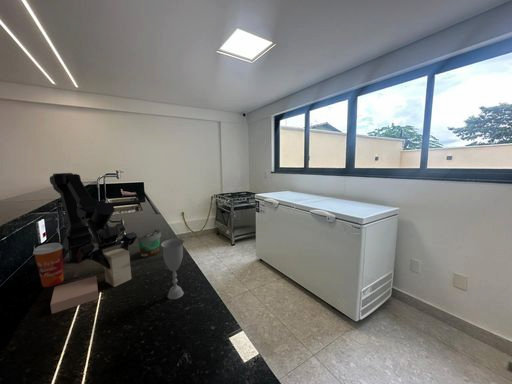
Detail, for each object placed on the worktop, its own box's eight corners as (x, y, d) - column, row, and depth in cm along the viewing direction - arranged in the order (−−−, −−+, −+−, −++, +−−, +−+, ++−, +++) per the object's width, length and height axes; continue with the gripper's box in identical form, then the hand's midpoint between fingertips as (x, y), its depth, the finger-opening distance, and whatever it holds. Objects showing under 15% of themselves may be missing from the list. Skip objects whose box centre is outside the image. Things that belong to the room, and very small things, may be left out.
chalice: (168, 288, 74) (165, 239, 72) (188, 287, 75) (186, 238, 72) (161, 302, 67) (157, 247, 64) (183, 301, 68) (180, 247, 65)
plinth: (51, 313, 62) (50, 304, 61) (55, 295, 70) (54, 286, 70) (98, 298, 69) (97, 290, 68) (97, 283, 77) (96, 275, 77)
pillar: (105, 281, 78) (102, 253, 76) (122, 274, 83) (120, 247, 82) (114, 286, 75) (111, 257, 73) (131, 278, 80) (129, 251, 79)
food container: (151, 260, 95) (149, 238, 94) (139, 258, 96) (137, 237, 95) (167, 249, 107) (166, 230, 106) (156, 248, 108) (155, 229, 107)
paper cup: (34, 291, 72) (27, 252, 70) (43, 280, 79) (37, 244, 77) (63, 285, 76) (58, 248, 74) (70, 275, 83) (65, 240, 81)
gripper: (75, 224, 70) (95, 264, 66) (132, 212, 86) (151, 244, 82) (68, 242, 75) (86, 280, 71) (123, 228, 91) (141, 258, 87)
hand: (119, 264), depth 77 cm, fingers closed on pillar, 6 cm apart
